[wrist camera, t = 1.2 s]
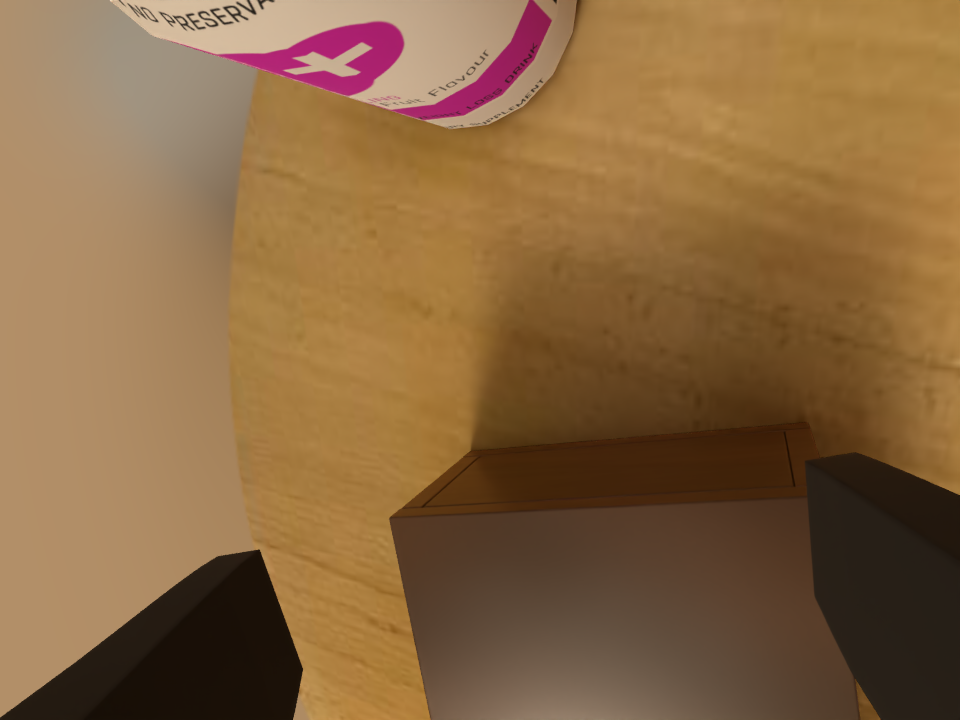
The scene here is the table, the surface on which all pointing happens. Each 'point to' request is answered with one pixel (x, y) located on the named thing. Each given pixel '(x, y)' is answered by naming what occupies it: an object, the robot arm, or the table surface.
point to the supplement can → (383, 48)
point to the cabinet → (623, 582)
